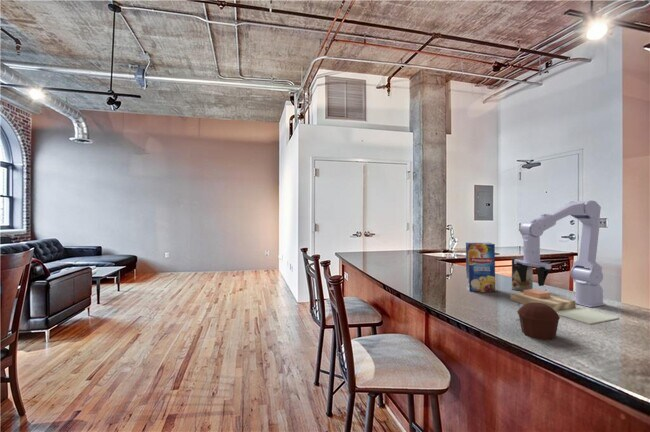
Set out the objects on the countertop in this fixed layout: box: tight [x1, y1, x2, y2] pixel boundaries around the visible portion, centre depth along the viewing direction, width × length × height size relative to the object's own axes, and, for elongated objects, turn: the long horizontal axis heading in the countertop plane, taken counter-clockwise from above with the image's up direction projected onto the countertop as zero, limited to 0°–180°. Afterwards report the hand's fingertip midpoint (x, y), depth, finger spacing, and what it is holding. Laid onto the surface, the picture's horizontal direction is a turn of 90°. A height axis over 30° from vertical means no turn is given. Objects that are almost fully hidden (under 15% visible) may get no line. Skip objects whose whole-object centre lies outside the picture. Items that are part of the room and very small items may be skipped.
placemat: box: [556, 307, 620, 325], centre depth 116 cm, size 16×13×1 cm
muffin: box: [516, 302, 561, 341], centre depth 99 cm, size 12×11×10 cm
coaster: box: [522, 288, 552, 299], centre depth 133 cm, size 7×7×2 cm
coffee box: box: [511, 256, 534, 292], centre depth 156 cm, size 9×6×16 cm
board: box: [510, 291, 577, 311], centre depth 131 cm, size 14×18×3 cm
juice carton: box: [465, 242, 496, 293], centre depth 156 cm, size 12×8×24 cm, turn 76°
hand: (532, 283), depth 127 cm, fingers open, 7 cm apart
